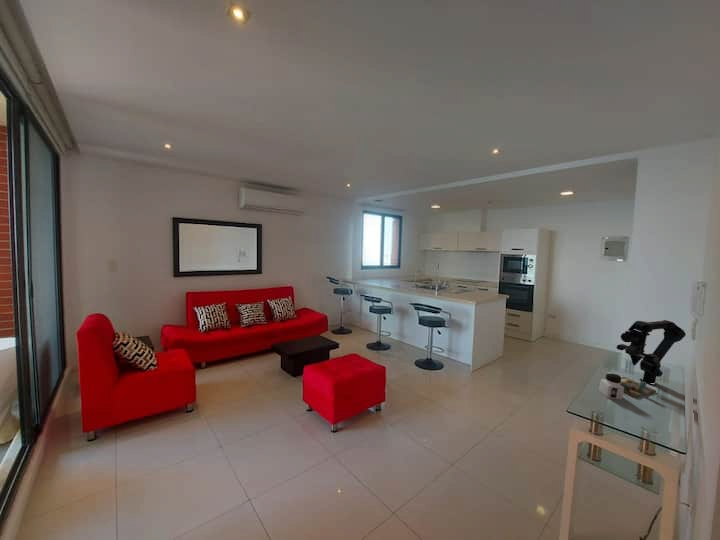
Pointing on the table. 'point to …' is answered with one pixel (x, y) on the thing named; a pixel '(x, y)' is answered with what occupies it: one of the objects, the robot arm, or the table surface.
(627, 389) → the stand
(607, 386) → the container
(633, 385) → the capstan
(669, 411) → the table surface
